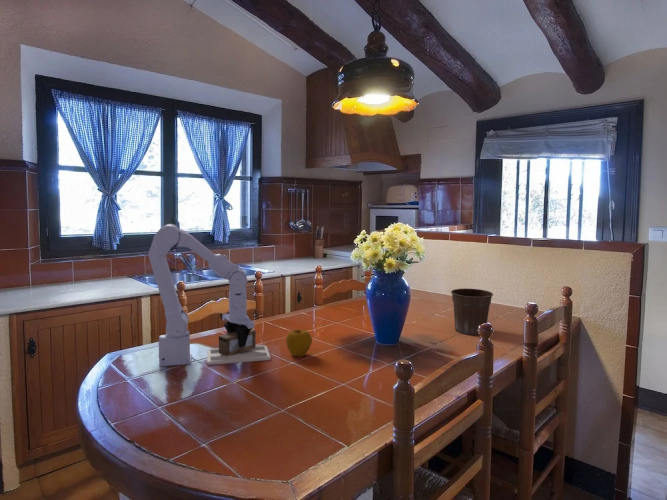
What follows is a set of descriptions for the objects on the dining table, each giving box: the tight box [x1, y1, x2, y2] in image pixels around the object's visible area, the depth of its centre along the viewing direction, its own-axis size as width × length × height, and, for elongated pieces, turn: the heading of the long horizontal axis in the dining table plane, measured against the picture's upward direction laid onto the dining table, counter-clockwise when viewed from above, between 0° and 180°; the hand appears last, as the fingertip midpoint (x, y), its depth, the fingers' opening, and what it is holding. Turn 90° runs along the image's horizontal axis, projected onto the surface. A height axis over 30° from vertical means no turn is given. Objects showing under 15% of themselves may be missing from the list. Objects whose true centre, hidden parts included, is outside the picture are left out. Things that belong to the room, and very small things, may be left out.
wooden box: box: [218, 328, 256, 357], centre depth 148 cm, size 12×4×6 cm, turn 140°
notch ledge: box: [206, 344, 271, 366], centre depth 149 cm, size 20×11×2 cm, turn 105°
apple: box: [285, 328, 313, 358], centre depth 151 cm, size 8×8×9 cm
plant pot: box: [450, 288, 494, 336], centre depth 181 cm, size 16×16×16 cm
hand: (238, 345), depth 148 cm, fingers closed on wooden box, 4 cm apart
